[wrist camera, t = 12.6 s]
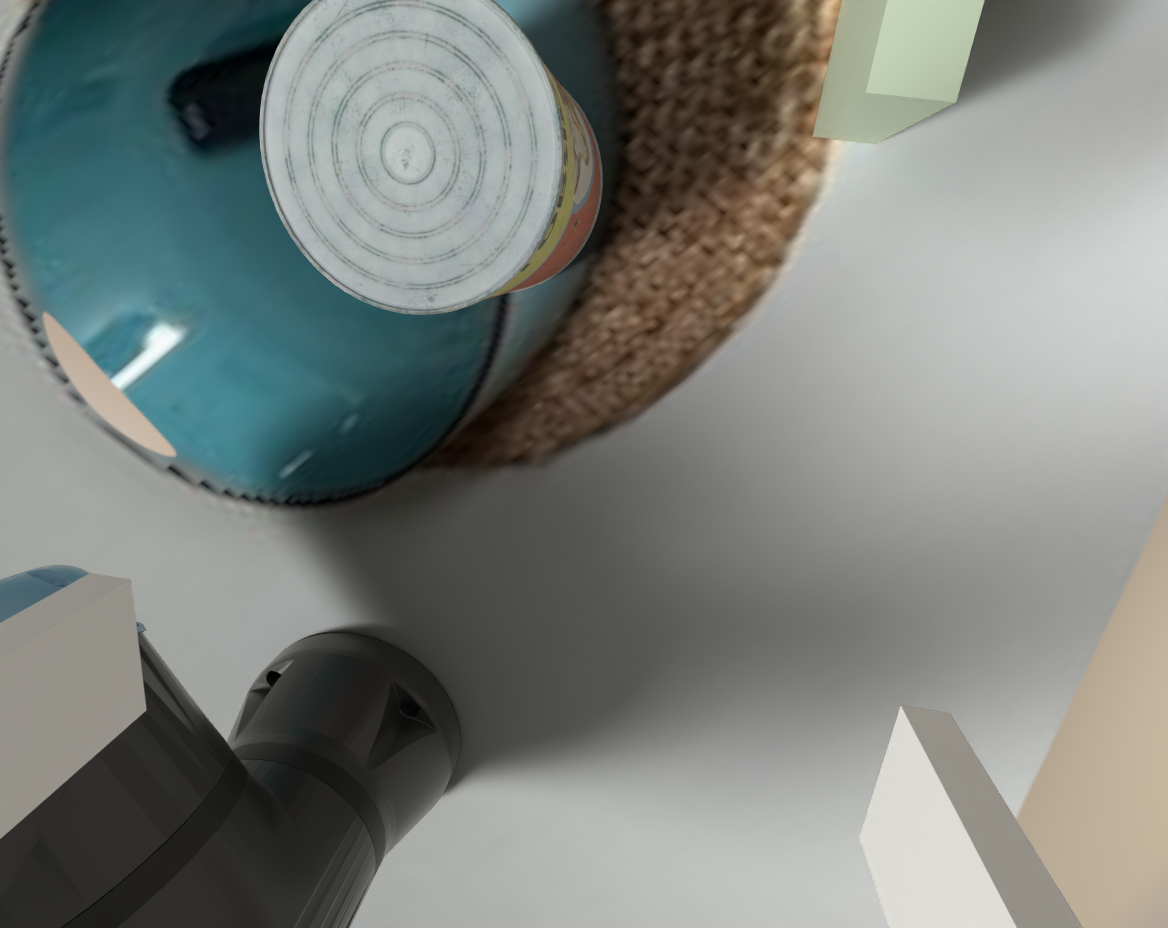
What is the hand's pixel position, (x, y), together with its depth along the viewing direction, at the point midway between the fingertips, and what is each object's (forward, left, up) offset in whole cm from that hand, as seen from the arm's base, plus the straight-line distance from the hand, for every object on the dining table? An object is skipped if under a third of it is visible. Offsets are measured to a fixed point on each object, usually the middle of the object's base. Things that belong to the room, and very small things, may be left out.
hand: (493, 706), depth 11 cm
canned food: (-8, +10, -28) cm, 31 cm away
